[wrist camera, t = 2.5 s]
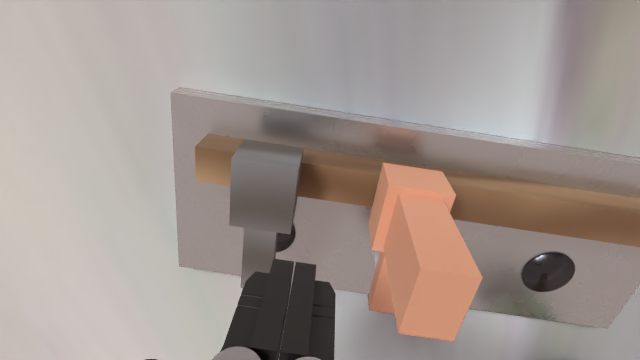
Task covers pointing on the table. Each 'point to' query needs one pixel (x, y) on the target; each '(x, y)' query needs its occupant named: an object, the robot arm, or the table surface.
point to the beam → (360, 187)
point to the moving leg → (419, 254)
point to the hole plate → (352, 220)
